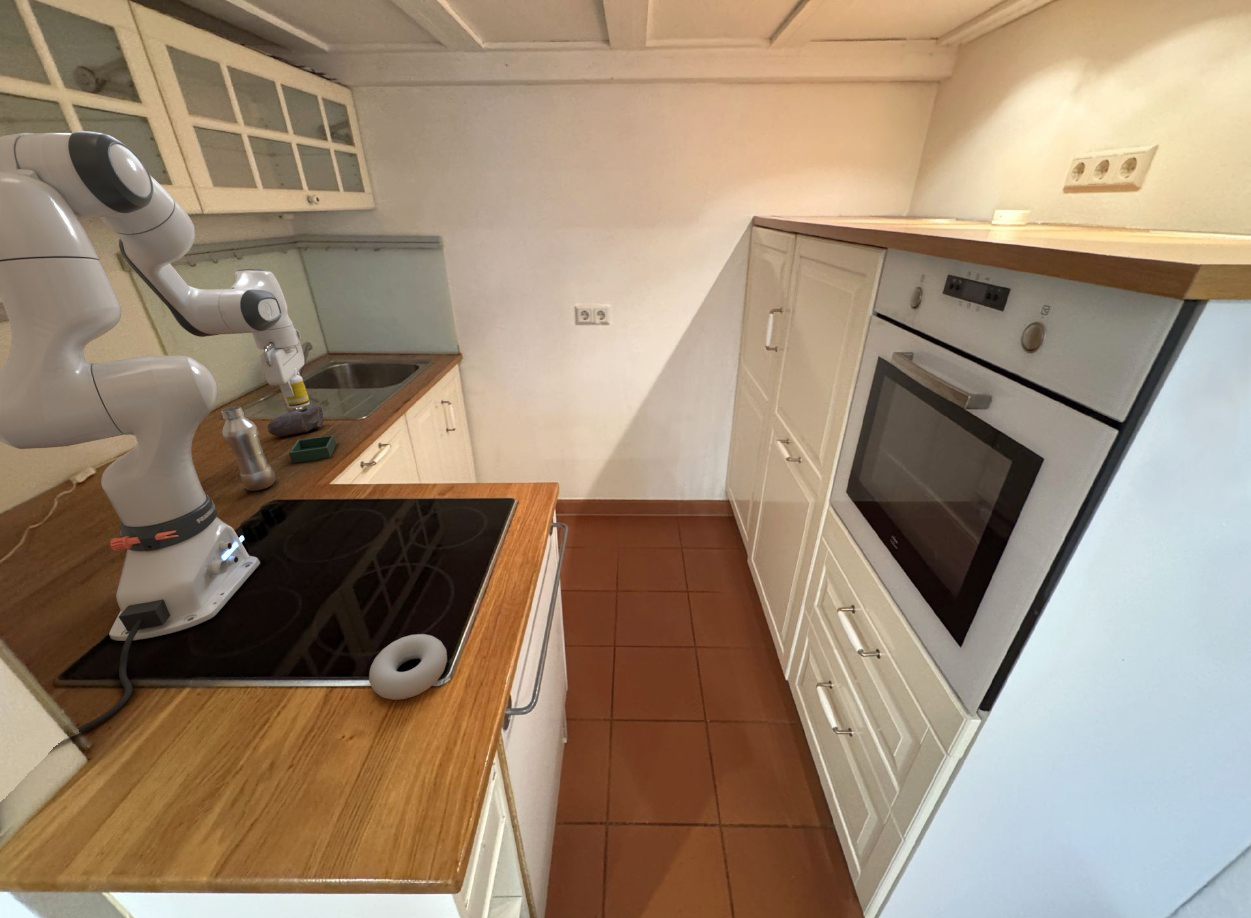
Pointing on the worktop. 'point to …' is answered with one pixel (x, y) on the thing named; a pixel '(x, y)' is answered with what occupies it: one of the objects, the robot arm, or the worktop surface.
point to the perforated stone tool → (297, 422)
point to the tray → (313, 449)
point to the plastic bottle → (247, 449)
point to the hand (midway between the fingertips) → (294, 392)
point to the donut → (414, 680)
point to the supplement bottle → (297, 393)
